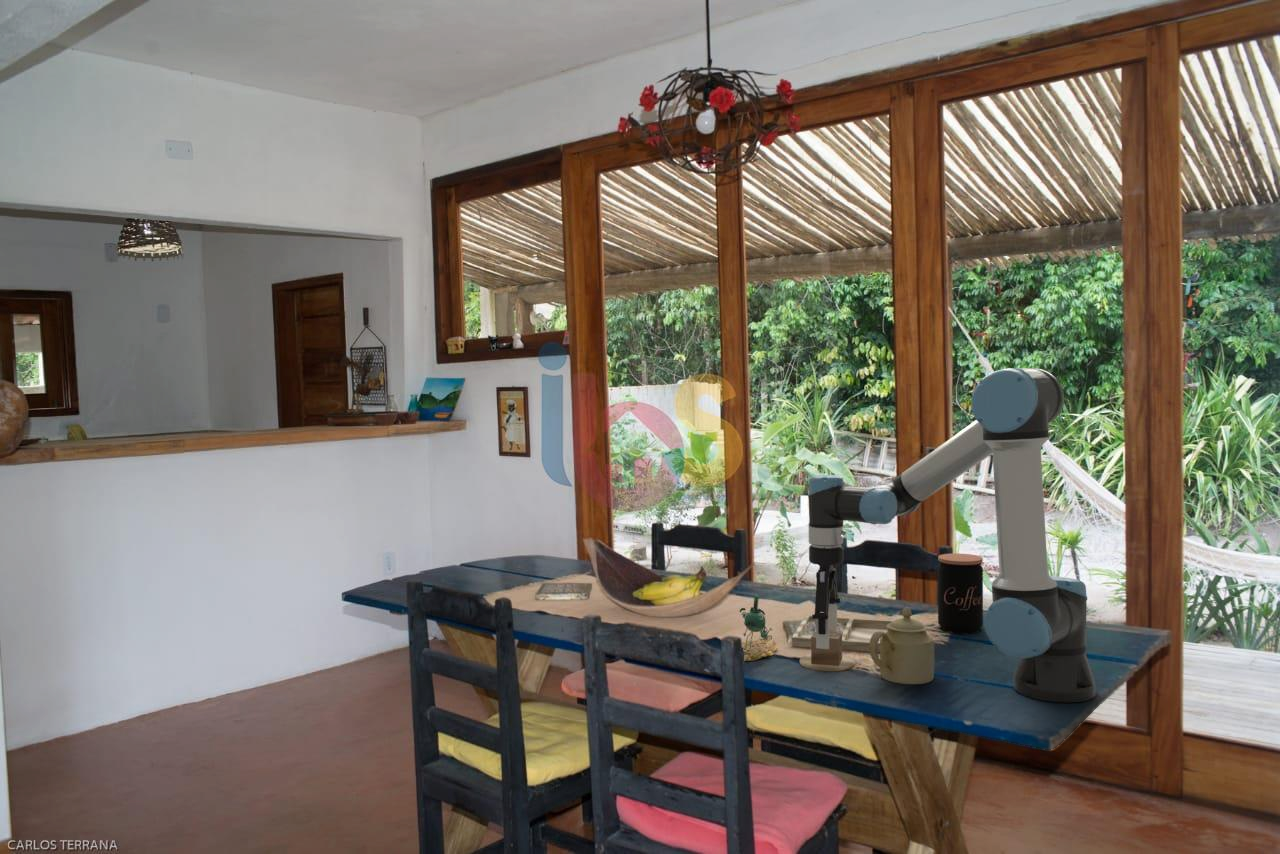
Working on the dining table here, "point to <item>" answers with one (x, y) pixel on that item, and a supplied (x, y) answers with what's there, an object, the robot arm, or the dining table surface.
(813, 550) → the robot arm
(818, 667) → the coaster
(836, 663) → the letter cube
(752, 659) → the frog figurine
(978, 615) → the coffee jar
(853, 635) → the tray
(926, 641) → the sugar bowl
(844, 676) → the dining table surface
